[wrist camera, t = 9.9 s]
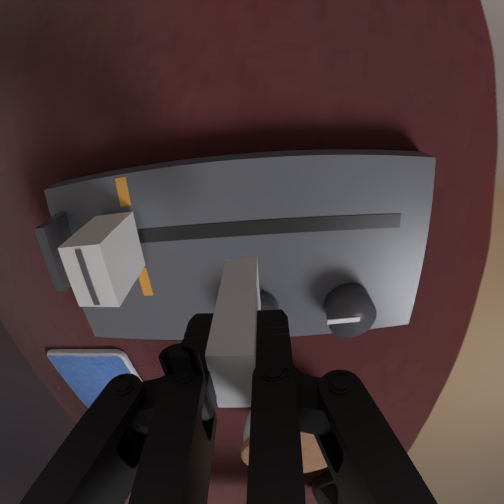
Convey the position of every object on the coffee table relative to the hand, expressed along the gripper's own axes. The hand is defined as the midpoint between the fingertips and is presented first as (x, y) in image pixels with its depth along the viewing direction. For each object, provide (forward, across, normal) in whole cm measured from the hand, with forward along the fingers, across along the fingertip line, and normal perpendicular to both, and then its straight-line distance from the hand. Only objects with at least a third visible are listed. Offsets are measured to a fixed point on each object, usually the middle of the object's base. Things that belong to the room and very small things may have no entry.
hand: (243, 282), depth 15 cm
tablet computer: (+9, +19, +23) cm, 31 cm away
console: (+8, +1, +2) cm, 8 cm away
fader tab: (+5, +9, -1) cm, 10 cm away
